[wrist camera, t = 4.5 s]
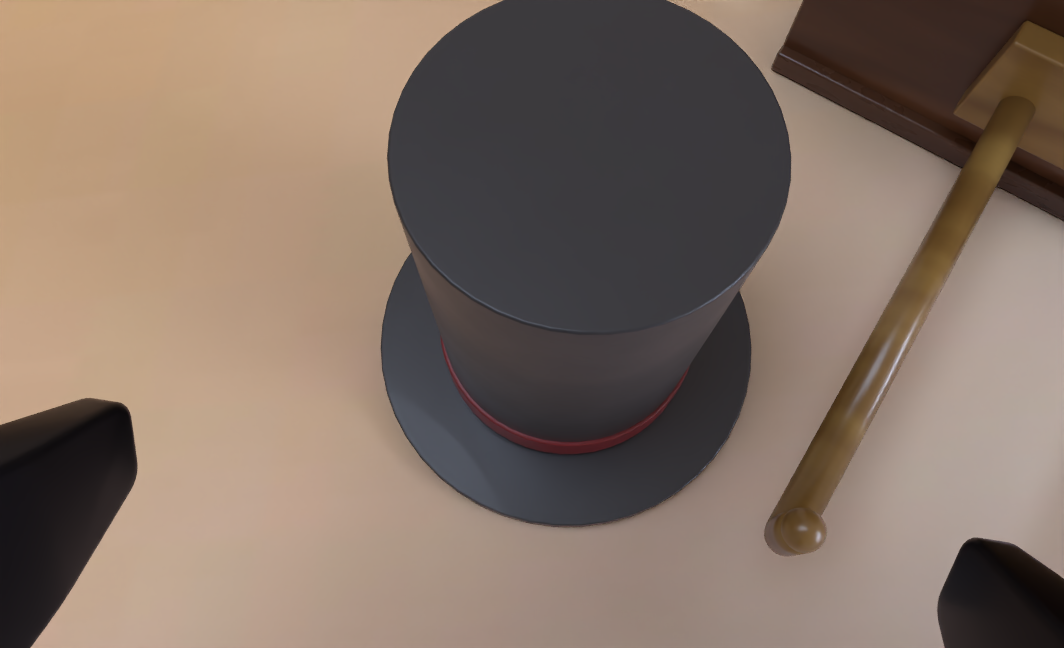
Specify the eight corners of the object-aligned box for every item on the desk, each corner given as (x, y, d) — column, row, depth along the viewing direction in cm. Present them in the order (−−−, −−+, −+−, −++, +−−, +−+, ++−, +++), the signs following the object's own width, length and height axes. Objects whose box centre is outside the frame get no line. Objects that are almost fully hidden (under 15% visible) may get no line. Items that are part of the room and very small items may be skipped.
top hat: (358, 512, 20) (207, 437, 11) (407, 170, 24) (324, -110, 14) (753, 541, 20) (948, 487, 11) (743, 190, 24) (882, -83, 14)
